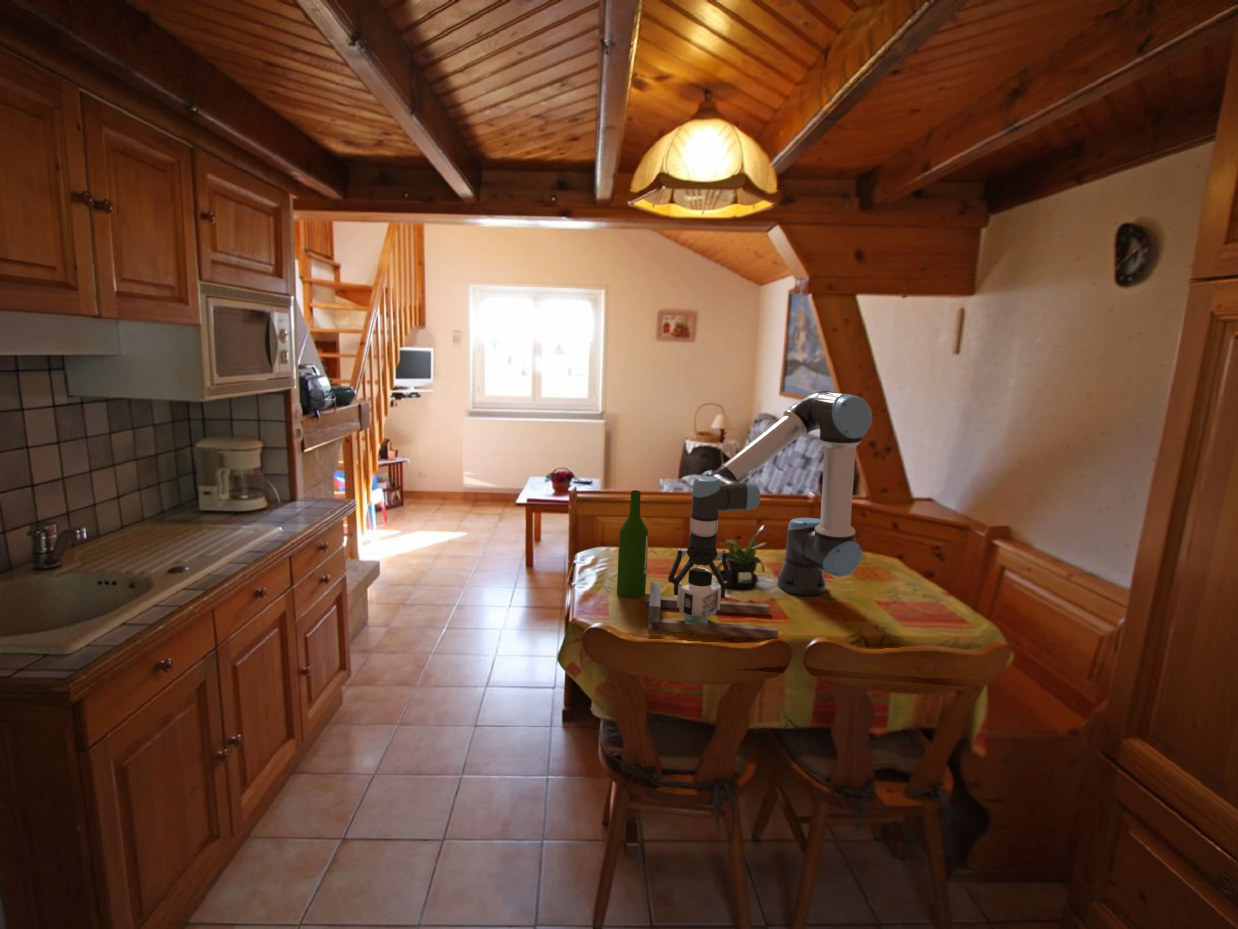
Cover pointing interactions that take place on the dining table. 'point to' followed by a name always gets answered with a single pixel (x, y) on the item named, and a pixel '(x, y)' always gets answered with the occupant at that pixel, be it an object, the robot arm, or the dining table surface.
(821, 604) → the dining table surface
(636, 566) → the wine bottle
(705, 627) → the wooden frame
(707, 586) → the container
